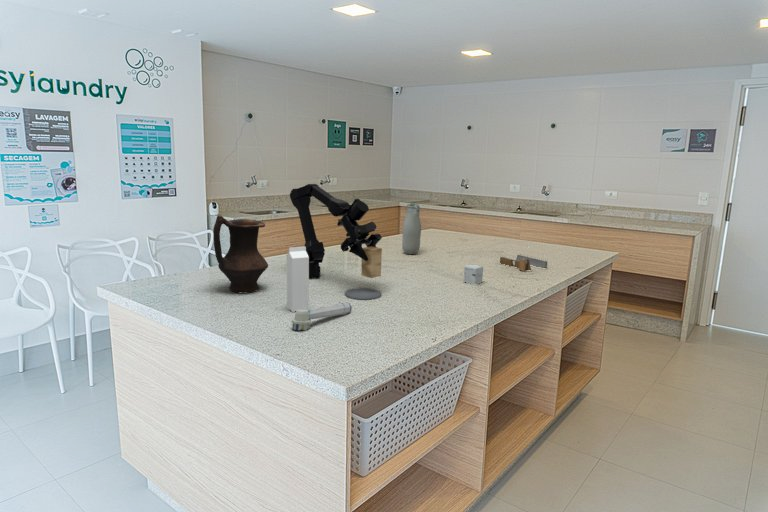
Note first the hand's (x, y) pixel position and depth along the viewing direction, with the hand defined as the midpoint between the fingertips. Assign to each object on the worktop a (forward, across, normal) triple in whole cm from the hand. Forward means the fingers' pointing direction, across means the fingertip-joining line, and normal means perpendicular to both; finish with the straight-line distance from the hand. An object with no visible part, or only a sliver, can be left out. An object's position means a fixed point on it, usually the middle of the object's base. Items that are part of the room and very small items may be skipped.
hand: (372, 259), depth 199 cm
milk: (+7, -34, +12) cm, 37 cm away
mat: (+9, -5, +10) cm, 14 cm away
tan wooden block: (+4, 0, +5) cm, 7 cm away
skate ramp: (+22, +88, -2) cm, 91 cm away
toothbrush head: (+18, -37, +2) cm, 41 cm away
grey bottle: (-17, +75, +37) cm, 86 cm away
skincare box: (+23, +45, -4) cm, 51 cm away
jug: (-17, -34, +36) cm, 53 cm away
